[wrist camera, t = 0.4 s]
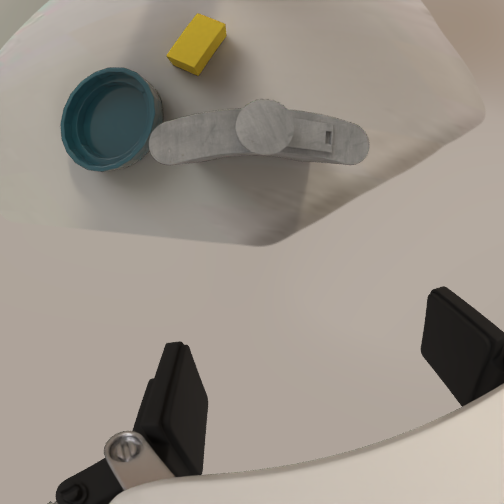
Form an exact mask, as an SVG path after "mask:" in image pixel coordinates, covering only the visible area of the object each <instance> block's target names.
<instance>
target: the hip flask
mask: <svg viewBox="0 0 504 504" xmlns="http://www.w3.org/2000/svg"><path fill="white" fill-rule="evenodd" d="M149 150H150V153H151V155H152V156H153V158H154V159H155V160H156V161H158V162H159V163H161V164H165V165H176V164H185V163H195V162H204V161H208V160H212V159H217V158H223V157H231V156H247V155H260V156H275V157H282V158H288V159H293V160H297V161H306V162H321V163H333V164H345V165H355V164H358V163H360V162H361V161H363V160H364V159H365V157H366V156H367V154H368V151H369V139H368V137H367V134H366V133H365V131H364V130H363V129H362V128H361V127H360V126H358V125H356V124H354V123H351V122H348V121H345V120H342V119H338V118H334V117H330V116H326V115H322V114H317V113H311V112H305V111H298V110H288V109H287V108H285V106H284V105H282V104H280V103H279V102H276V101H274V100H269V99H260V100H255V101H253V102H250V103H249V104H247V105H246V106H245V107H244V108H242V109H227V110H218V111H210V112H204V113H198V114H194V115H189V116H185V117H181V118H177V119H174V120H170V121H167V122H164V123H162V124H160V125H159V126H157V127H156V128H155V129H154V131H153V132H152V134H151V136H150V139H149Z"/></svg>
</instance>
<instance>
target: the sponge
mask: <svg viewBox="0 0 504 504" xmlns="http://www.w3.org/2000/svg"><path fill="white" fill-rule="evenodd" d="M225 37H226V26H225V24H224V23H221V22H219V21H217V20H214V19H212V18H209V17H206V16H204V15H201V14H198V13H197V14H196V16H195V17H194V18H193V20H192V21H191V22H190V23H189V25H188V26H187V27H186V29H185V30H184V31H183V33H182V34H181V36H180V37H179V38H178V40H177V41H176V43H175V44H174V45H173V47H172V48H171V50H170V51H169V53H168V54H167V57H168V59H169V60H170V61H171V63H172V64H173V65H174V66H177V67H179V68H181V69H183V70H186V71H188V72H190V73H192V74H195V75H197V76H199V75H200V73H201V72H202V70H203V69H204V67H205V66H206V64H207V63H208V61H209V60H210V58H211V57H212V55H213V54H214V52H215V51H216V50H217V48H218V47H219V45H220V44H221V43H222V41H223V40H224V39H225Z"/></svg>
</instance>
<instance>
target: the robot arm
mask: <svg viewBox="0 0 504 504" xmlns="http://www.w3.org/2000/svg"><path fill="white" fill-rule="evenodd" d="M421 353H422V355H423V357H424V358H425V360H427V362H428V363H429V364H430V366H431V367H432V368H433V369H434V371H435V372H436V373H437V375H438V376H439V377H440V378H441V380H442V381H443V382H444V383H445V385H446V386H447V387H448V389H449V390H450V391H451V393H452V394H453V395H454V397H455V398H456V399H457V401H458V402H459V403H460V404H461V406H462V407H461V408H459V409H457V410H455V411H453V412H451V413H449V414H447V415H445V416H443V417H440V418H438V419H436V420H434V421H432V422H430V423H427V424H425V425H423V426H420V427H418V428H416V429H413V430H410V431H408V432H405V433H403V434H400V435H398V436H395V437H392V438H390V439H386V440H384V441H381V442H378V443H375V444H372V445H368V446H365V447H362V448H359V449H355V450H352V451H348V452H344V453H341V454H337V455H333V456H329V457H325V458H321V459H317V460H312V461H308V462H302V463H297V464H291V465H286V466H280V467H273V468H267V469H260V470H252V471H244V472H234V473H221V474H208V475H201V474H202V471H203V459H204V446H205V434H206V423H207V412H208V398H207V394H206V392H205V389H204V387H203V384H202V381H201V379H200V376H199V373H198V371H197V368H196V365H195V362H194V360H193V357H192V354H191V351H190V348H189V346H188V345H184V344H183V343H182V342H172V343H167V344H166V345H165V348H164V351H163V354H162V357H161V360H160V363H159V366H158V369H157V372H156V375H155V378H154V379H150V380H149V382H148V385H147V388H146V391H145V394H144V397H143V400H142V403H141V406H140V409H139V412H138V415H137V418H136V422H135V424H134V428H133V431H123V432H120V433H117V434H115V435H114V436H112V437H111V438H110V439H109V440H108V441H107V443H106V445H105V447H104V455H105V458H104V459H102V460H101V461H99V462H97V463H95V464H94V465H92V466H90V467H88V468H87V469H85V470H83V471H81V472H79V473H77V474H76V475H74V476H72V477H70V478H68V479H66V480H65V481H63V482H62V483H61V484H60V485H59V486H58V488H57V491H56V502H55V503H54V504H504V332H503V331H501V330H500V329H499V328H498V327H497V326H495V325H494V324H493V323H492V322H491V321H489V320H488V319H487V318H485V317H484V316H483V315H482V314H481V313H479V312H478V311H477V310H475V309H474V308H473V307H472V306H470V305H469V304H468V303H467V302H465V301H464V300H463V299H461V298H460V297H459V296H457V295H456V294H455V293H453V292H452V291H451V290H449V289H448V288H447V287H440V288H436V289H433V290H432V291H431V293H430V294H429V295H428V299H427V308H426V317H425V325H424V332H423V338H422V344H421ZM48 504H53V503H52V502H49V503H48Z"/></svg>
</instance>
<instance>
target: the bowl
mask: <svg viewBox="0 0 504 504" xmlns="http://www.w3.org/2000/svg"><path fill="white" fill-rule="evenodd" d="M162 120H163V112H162V102H161V100H160V98H159V95H158V93H157V91H156V89H155V88H154V87H153V86H152V85H151V84H150V83H149V82H148V81H147V80H145V79H144V78H143V77H142V76H140V75H139V74H138V73H136V72H134V71H131V70H129V69H126V68H106V69H103V70H100V71H97V72H95V73H93V74H91V75H90V76H88V77H87V78H86V79H84V80H83V81H82V82H80V84H79V85H78V86H77V87H76V88H75V89H74V91H73V92H72V93H71V95H70V97H69V99H68V101H67V103H66V105H65V107H64V109H63V114H62V119H61V137H62V141H63V144H64V147H65V149H66V152H67V153H68V155H69V156H70V157H71V158H72V159H73V160H74V162H75V163H76V164H78V165H80V166H82V167H84V168H85V169H87V170H92V171H100V172H103V171H110V170H116V169H121V168H125V167H129V166H130V165H132V164H134V163H135V162H137V161H139V160H141V159H142V158H143V157H144V156H145V155H146V154H147V152H148V151H149V139H150V136H151V134H152V132H153V131H154V129H155V128H156V127H157V126H159V125H160V124H162Z"/></svg>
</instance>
